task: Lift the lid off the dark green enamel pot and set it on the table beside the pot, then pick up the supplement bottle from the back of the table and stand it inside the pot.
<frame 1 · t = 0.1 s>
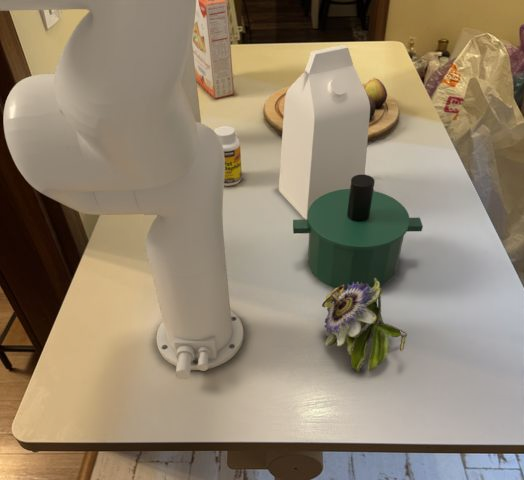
pot: (351, 262, 87), on the table
passion flower: (358, 342, 75), on the table
wooden plate: (330, 116, 123), on the table
supplement bottle: (228, 180, 105), on the table
cracker box: (214, 88, 136), on the table
paper towel roll: (187, 143, 116), on the table
lid: (357, 218, 80), point 8 cm above the table, touching pot
milk: (319, 197, 100), on the table
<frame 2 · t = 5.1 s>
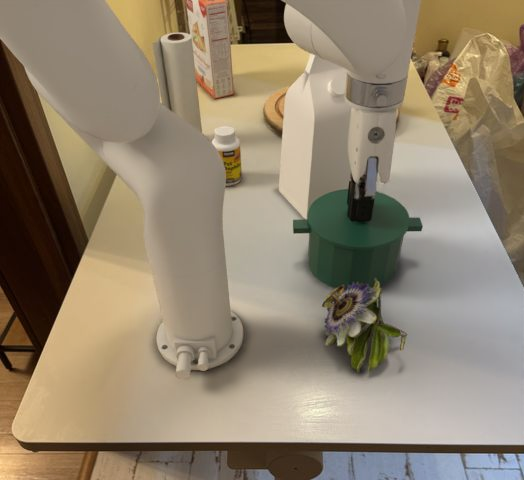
hand: (358, 211, 79), 10 cm above the table, tool pointing down, fingers closed on lid, 3 cm apart
lid: (357, 218, 80), point 9 cm above the table, touching gripper, pot
everything else where it was.
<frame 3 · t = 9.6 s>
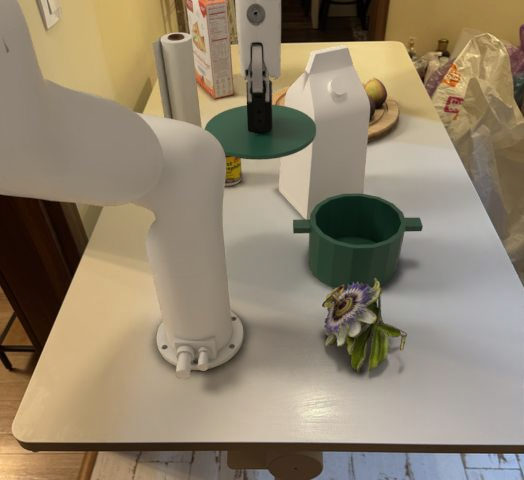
hand: (260, 122, 72), 23 cm above the table, tool pointing down, fingers closed on lid, 3 cm apart
lid: (260, 132, 73), point 21 cm above the table, touching gripper
everything else where it was.
when the fingers open (2 cm above the table, at t = 14.6 s): lid stays where it is, point 1 cm above the table.
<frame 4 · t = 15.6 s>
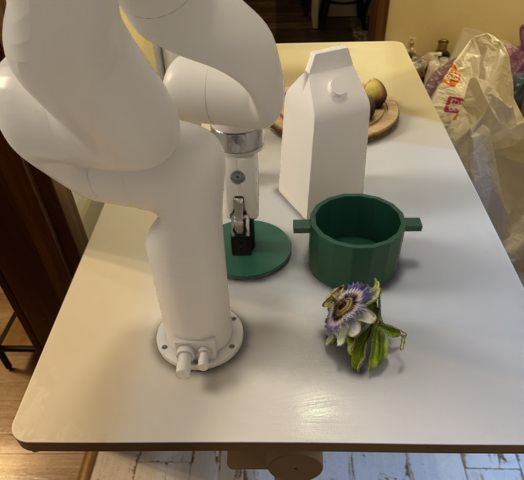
hand: (242, 236, 86), 4 cm above the table, tool pointing down, fingers open, 9 cm apart
lid: (245, 249, 89), point 1 cm above the table
everything else where it was.
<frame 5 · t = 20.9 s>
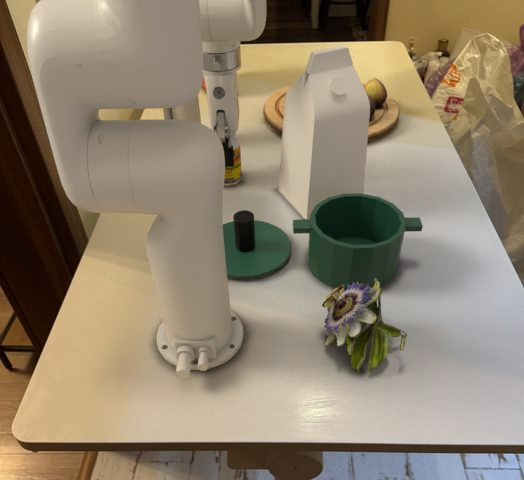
hand: (226, 156, 101), 5 cm above the table, tool pointing down, fingers closed on supplement bottle, 5 cm apart
supplement bottle: (228, 180, 105), on the table, touching gripper
everything else where it was.
when the fingers open (5 cm above the table, at t = 33.8 s): supplement bottle stays where it is, resting on pot.
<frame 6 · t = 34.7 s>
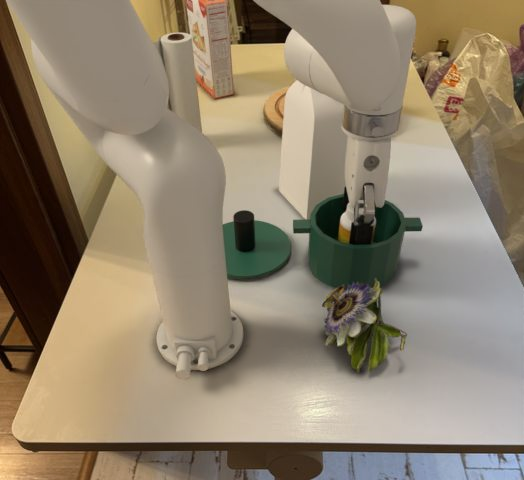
hand: (355, 226, 81), 7 cm above the table, tool pointing down, fingers open, 9 cm apart
supplement bottle: (352, 260, 86), resting on pot
everything else where it was.
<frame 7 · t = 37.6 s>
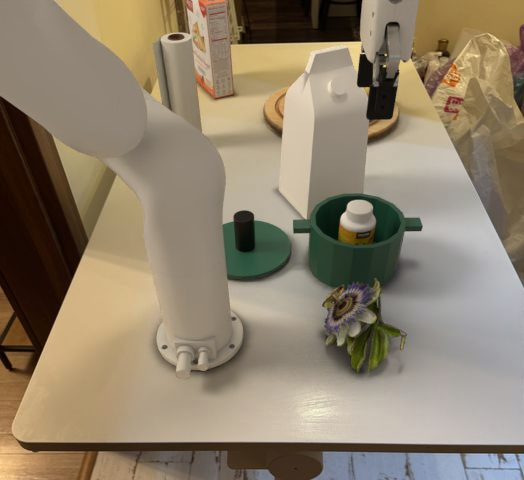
hand: (373, 101, 67), 26 cm above the table, tool pointing down, fingers open, 9 cm apart
nothing on the table moved.
at the end: lid inside the target area (0.3 cm from its centre), point 0.6 cm above the table; supplement bottle inside the target area in the pot (0.1 cm from its centre), point 0.3 cm above the pot's base; supplement bottle tilted 0° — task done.
